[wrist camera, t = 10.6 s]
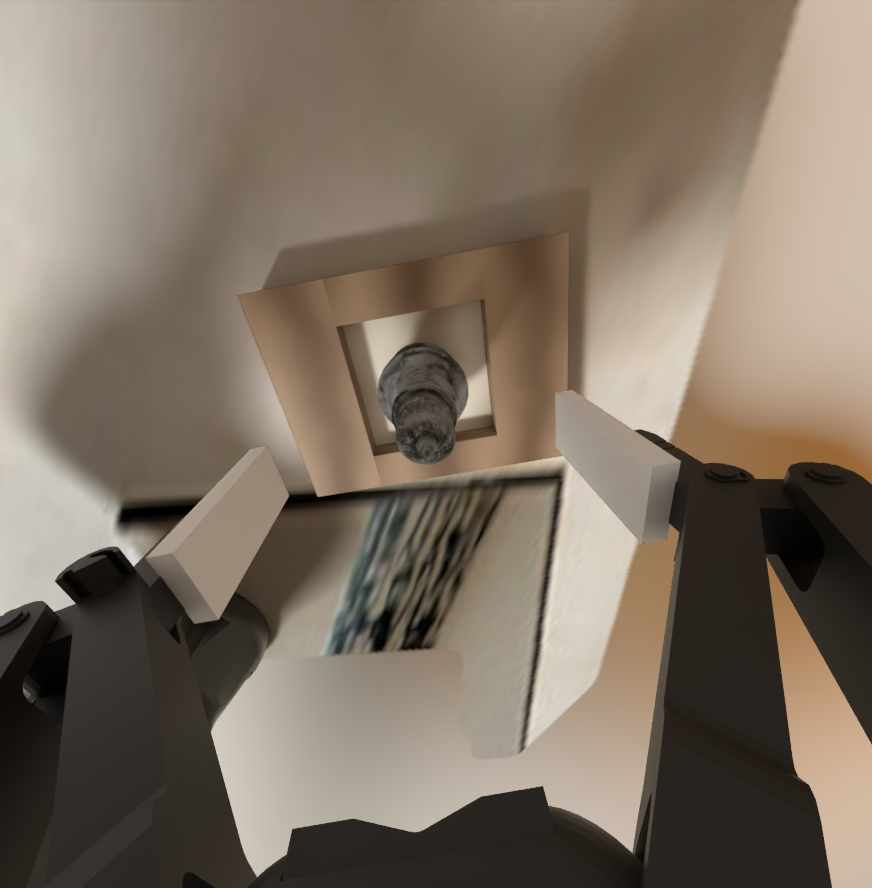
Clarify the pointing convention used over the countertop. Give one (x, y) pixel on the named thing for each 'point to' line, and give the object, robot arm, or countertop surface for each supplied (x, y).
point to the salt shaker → (423, 401)
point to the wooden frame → (416, 321)
